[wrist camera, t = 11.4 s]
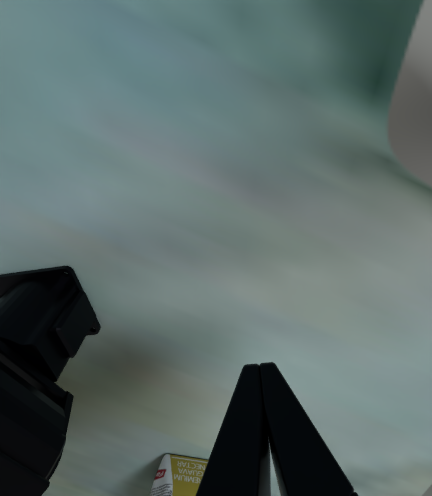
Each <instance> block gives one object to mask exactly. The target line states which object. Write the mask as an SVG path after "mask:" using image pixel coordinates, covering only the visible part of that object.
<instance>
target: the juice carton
mask: <svg viewBox="0 0 432 496" xmlns="http://www.w3.org/2000/svg"><path fill="white" fill-rule="evenodd" d="M207 463H208V460H204V459H197V458H191V457H185V456H179V455H172V454H166V455H164V457H163V459H162V461H161V463H160V466H159V469H158V471H157V474H156V476H155V479H154V482H153V485H152V488H151V491H150V495H149V496H196V493H197V490H198V487H199V485H200V482H201V479H202V477H203V474H204V471H205V468H206V466H207Z"/></svg>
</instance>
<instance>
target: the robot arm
mask: <svg viewBox="0 0 432 496" xmlns="http://www.w3.org/2000/svg"><path fill="white" fill-rule="evenodd" d="M65 272H67V273H68V274H66V273H65ZM94 328H95V329H94ZM100 328H101V327H100V324H99V322H98V320H97V318H96V314H95V312H94V310H93V308H92V306H91V304H90V302H89V300H88V298H87V296H86V293H85V292H84V291H83V289H82V287H81V284H80V282H79V280H78V278H77V276H76V274H75V272H74V270H73V269H72V268H71V267H69V266H60V267H53V268H45V269H38V270H31V271H23V272H16V273H9V274H2V275H0V496H41V495H42V494H43V493H44V492H45V491H46V489H47V488H48V487H49V484H50V482H49V479H50V478H51V476H52V475H53V473H54V471H55V469H56V468H57V466H58V463H59V461H60V459H61V456H62V452H63V448H64V445H65V441H66V433H67V428H68V422H69V417H70V412H71V407H72V402H73V395H72V394H70V393H69V392H68V391H66V392H65V391H64V390H63V389H62V388H60V387H59V386H58V385H57V384H55V383H54V382H56V381H57V380H58V378H59V376H60V374H61V372H62V371H63V369H64V367H65V365H66V363H67V361H68V360H69V358H73V357H74V356H75V355H76V353H77V351H78V349H79V347H80V346H81V344H82V342H83V340H84V338H85V336H86V335H95V334H98V333H99V330H100ZM269 443H270V447H269ZM270 450H271V455H272V459H273V464H274V468H275V472H276V477H277V481H278V485H279V490H280V494H281V496H358V494H357V493H356V492H354V488H353V486H352V485H351V483H350V482H349V480H348V479H347V477H346V475H345V474H344V472H343V471H342V469H341V467H340V466H339V464H338V463H337V461H336V460H335V458H334V456H333V455H332V453H331V452H330V450H329V448H328V447H327V445H326V444H325V442H324V441H323V439H322V437H321V436H320V434H319V433H318V431H317V429H316V428H315V426H314V425H313V423H312V421H311V420H310V418H309V417H308V415H307V414H306V412H305V410H304V409H303V407H302V406H301V404H300V402H299V401H298V399H297V398H296V396H295V395H294V393H293V391H292V390H291V388H290V387H289V385H288V383H287V382H286V380H285V379H284V377H283V375H282V374H281V372H280V371H279V369H278V368H277V366H276V365H275V363H273V362H269V363H261V364H260V365H258V364H247V365H244V367H243V369H242V371H241V374H240V377H239V379H238V382H237V385H236V388H235V390H234V393H233V396H232V398H231V401H230V404H229V406H228V409H227V412H226V415H225V417H224V420H223V423H222V425H221V428H220V431H219V433H218V436H217V439H216V442H215V444H214V447H213V450H212V452H211V455H210V458H209V460H208V463H207V466H206V468H205V471H204V474H203V477H202V479H201V482H200V485H199V487H198V490H197V493H196V496H271V487H270Z"/></svg>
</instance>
